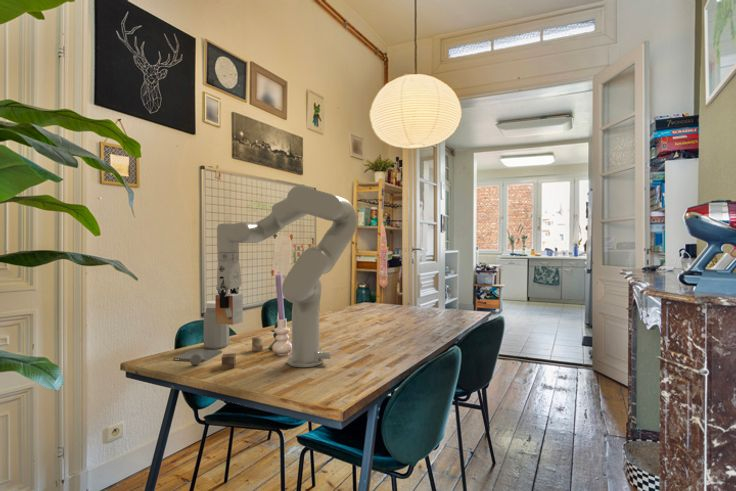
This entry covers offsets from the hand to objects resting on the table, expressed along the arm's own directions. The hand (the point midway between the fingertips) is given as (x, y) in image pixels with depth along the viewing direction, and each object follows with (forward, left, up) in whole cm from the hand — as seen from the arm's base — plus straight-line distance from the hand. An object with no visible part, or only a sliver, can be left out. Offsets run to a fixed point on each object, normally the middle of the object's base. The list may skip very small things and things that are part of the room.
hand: (229, 305), depth 149 cm
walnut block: (-6, +11, -19) cm, 22 cm away
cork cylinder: (-7, -10, -19) cm, 22 cm away
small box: (0, 0, -6) cm, 6 cm away
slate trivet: (+11, +1, -19) cm, 22 cm away
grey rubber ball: (+6, +11, -19) cm, 23 cm away
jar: (+12, -13, -19) cm, 26 cm away
